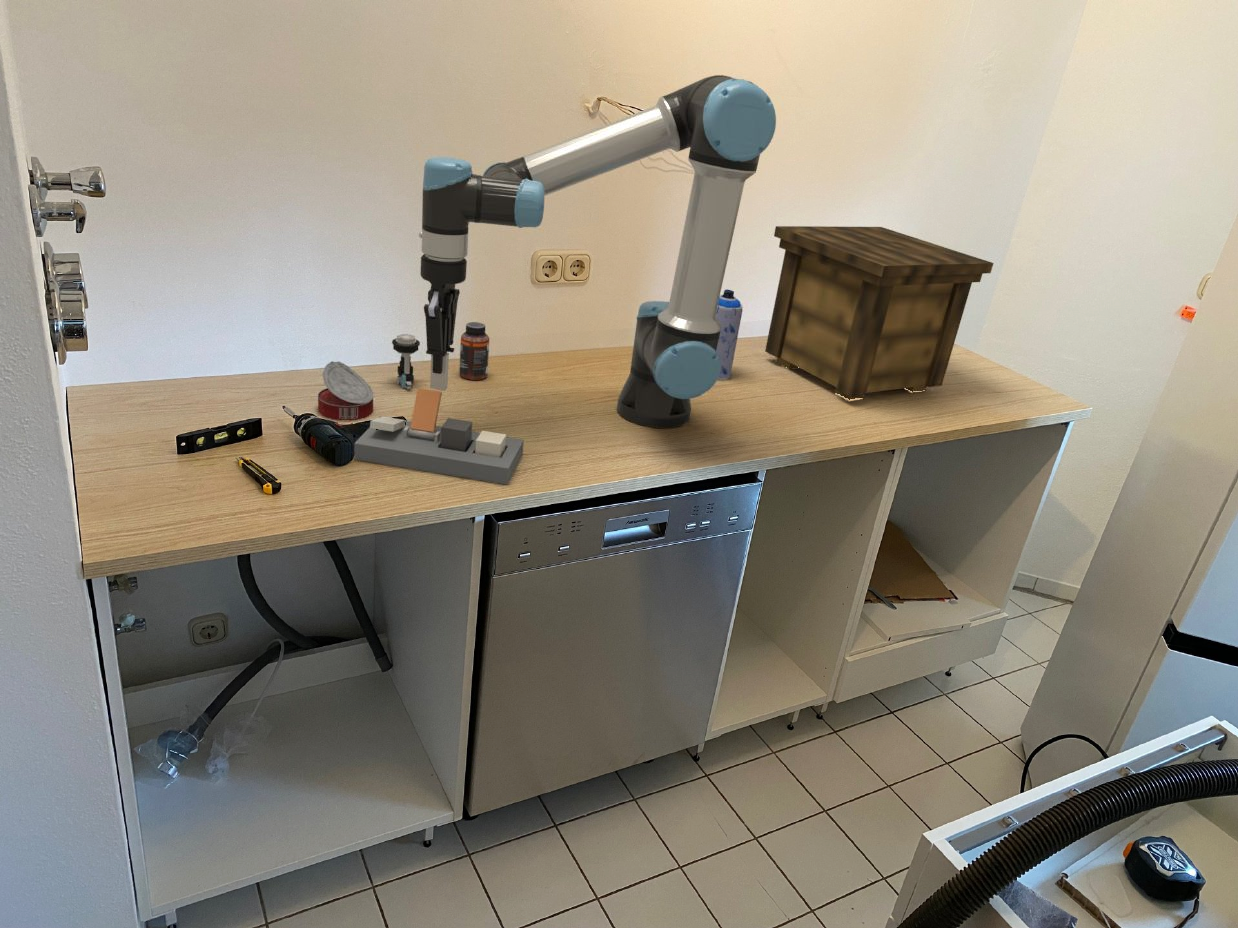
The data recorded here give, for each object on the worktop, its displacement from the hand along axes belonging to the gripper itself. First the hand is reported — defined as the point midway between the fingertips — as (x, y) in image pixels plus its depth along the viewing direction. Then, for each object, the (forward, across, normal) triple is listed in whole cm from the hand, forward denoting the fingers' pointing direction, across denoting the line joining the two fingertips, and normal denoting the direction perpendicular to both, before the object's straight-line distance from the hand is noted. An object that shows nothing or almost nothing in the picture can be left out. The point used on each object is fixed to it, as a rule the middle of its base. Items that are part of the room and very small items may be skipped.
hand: (438, 388), depth 161 cm
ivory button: (+8, +9, +12) cm, 17 cm away
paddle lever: (+5, +9, 0) cm, 11 cm away
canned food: (+9, -4, -18) cm, 21 cm away
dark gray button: (+6, +9, +6) cm, 13 cm away
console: (+9, +9, +4) cm, 13 cm away
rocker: (+5, +9, -6) cm, 12 cm away
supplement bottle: (+9, -31, -2) cm, 32 cm away
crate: (+9, -70, +82) cm, 108 cm away
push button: (+9, -20, -12) cm, 25 cm away
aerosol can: (+9, -56, +49) cm, 75 cm away
